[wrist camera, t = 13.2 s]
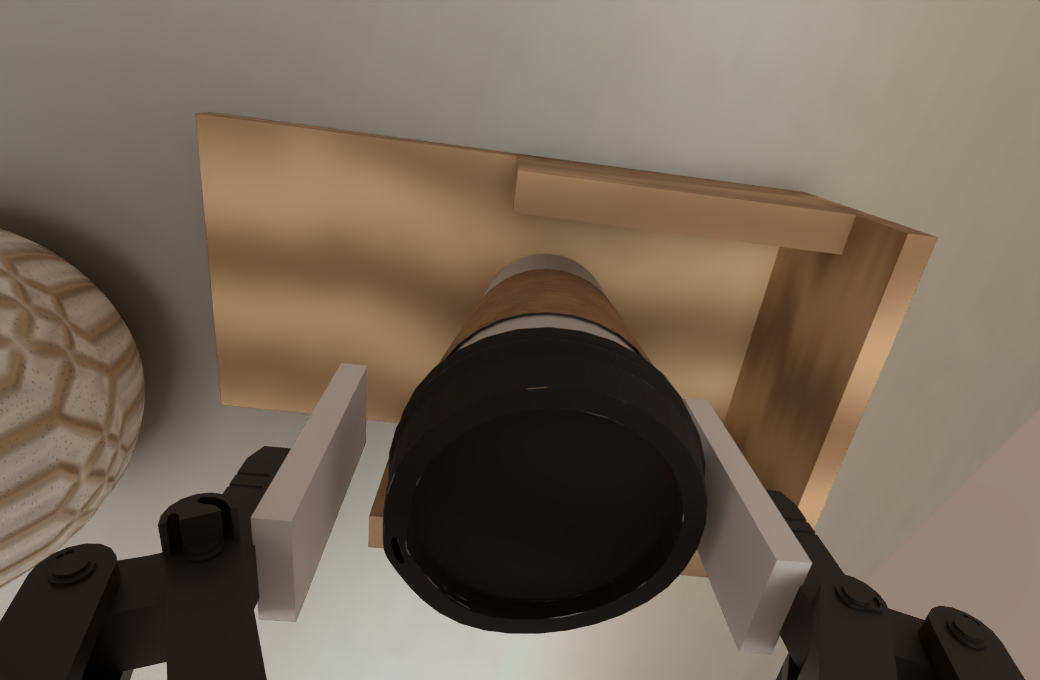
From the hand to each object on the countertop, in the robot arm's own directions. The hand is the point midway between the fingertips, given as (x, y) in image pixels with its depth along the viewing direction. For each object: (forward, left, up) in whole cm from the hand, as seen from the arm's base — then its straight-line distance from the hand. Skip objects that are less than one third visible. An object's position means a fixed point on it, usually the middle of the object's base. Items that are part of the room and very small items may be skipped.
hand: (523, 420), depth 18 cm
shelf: (0, -1, -12) cm, 12 cm away
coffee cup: (0, +1, -11) cm, 11 cm away
